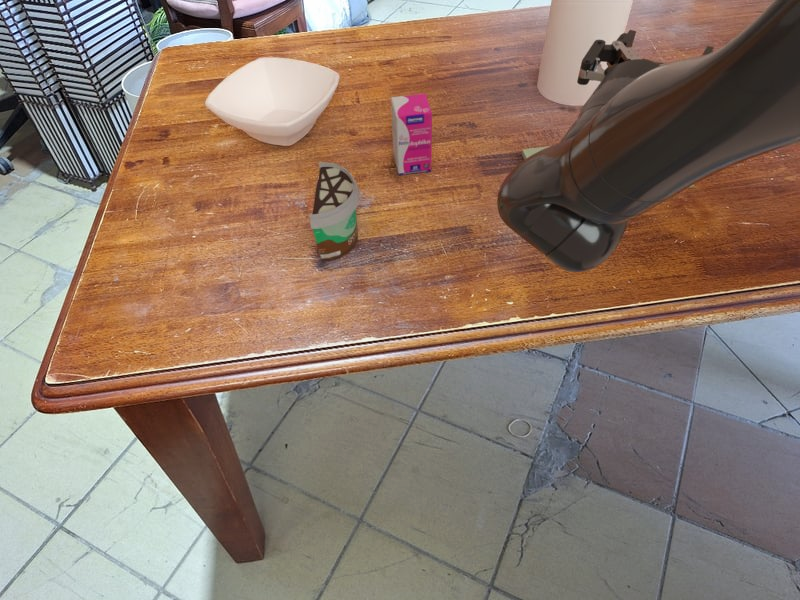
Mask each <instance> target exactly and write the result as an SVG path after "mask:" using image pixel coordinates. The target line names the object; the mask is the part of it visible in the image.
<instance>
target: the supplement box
mask: <svg viewBox="0 0 800 600" xmlns="http://www.w3.org/2000/svg"><path fill="white" fill-rule="evenodd" d="M390 108H391V109H390V110H391V132H392V133H391V134H392V152H393V159H394V164H395V167H396V172H397V175H398V176H404V175H409V174H411V175H412V174H418V173H429V172H431V171H432V146H433V144H432V143H433V142H432V141H433V140H432V139H433V111H432V108H431V106H430V103H429V100H428V97H427V94H426V93H418V94H408V95H400V96H391V97H390Z"/></svg>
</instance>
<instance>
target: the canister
mask: <svg viewBox="0 0 800 600" xmlns="http://www.w3.org/2000/svg"><path fill="white" fill-rule="evenodd" d="M550 2H551V3H550V7H549V8H550V9H549V14H548V17H547V19H548V20H547V25H546V29H545V36H544V43H543V49H542V54H541V60H540V66H539V71H538V78H537V83H536V88H537V91H538V92H539V94H540V95H541V96H542V97H543V98H545V99H546V100H548V101H550V102H553V103H556V104H559V105H563V106H571V107H583V106H584V104H585V103H586V102H587V100H588V99H589V98H590V96H591V95H592V93H593V92H594V91H595V89H596V88H597V87H598V85H599V84H600V83H601V82H600V81H595V80H593V81H592V80H590V81H589V83H588V84H587V85H580V84H578V83H577V80H578V76H579V71H580V67H581V63H582V60H583V58H584V57H585V55H586V54H587V52H588V51H589V49H590V48H591V46H592V45H593V43H594V42H595V40H604V41H605V42H606V43H605V45H611V44H612V42H613V41H616V40H617V39H618V38H619V37H620V35H621V34H623V33H625V32H626V28H627V24H628V22H629V17H630V14H631V11H632V7H633V3H634V0H551V1H550ZM600 64H601V65H602V66H601V67H602V69H604V70H605V69H606V68H607V67H608V66H607V62H601V63H600Z"/></svg>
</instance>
